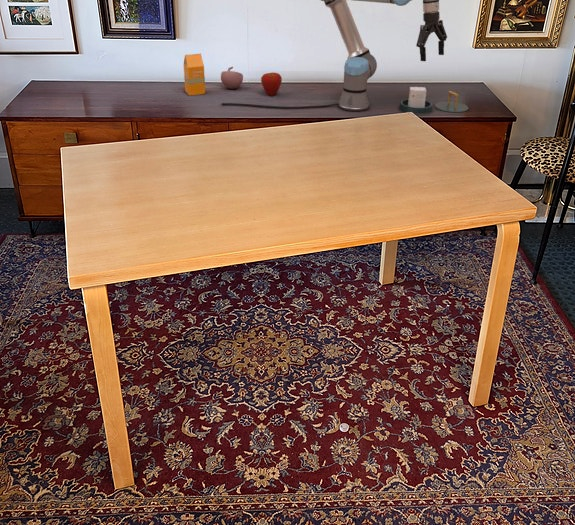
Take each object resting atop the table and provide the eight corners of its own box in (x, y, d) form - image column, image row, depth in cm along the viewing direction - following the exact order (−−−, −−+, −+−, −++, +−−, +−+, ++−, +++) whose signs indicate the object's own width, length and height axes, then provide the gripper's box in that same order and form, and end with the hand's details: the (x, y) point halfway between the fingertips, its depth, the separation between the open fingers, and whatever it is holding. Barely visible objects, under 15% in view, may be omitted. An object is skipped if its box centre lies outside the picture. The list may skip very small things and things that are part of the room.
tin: (410, 115, 312) (411, 109, 310) (394, 106, 324) (394, 100, 322) (437, 112, 317) (438, 106, 315) (420, 103, 329) (421, 97, 328)
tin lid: (446, 115, 313) (449, 98, 309) (428, 105, 326) (430, 89, 322) (474, 111, 319) (477, 95, 315) (455, 102, 332) (457, 86, 328)
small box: (423, 107, 323) (425, 87, 317) (424, 111, 318) (426, 90, 312) (407, 107, 323) (409, 86, 318) (408, 110, 318) (410, 89, 313)
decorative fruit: (244, 85, 351) (244, 64, 345) (241, 92, 341) (240, 70, 335) (223, 84, 352) (222, 63, 346) (219, 91, 342) (218, 69, 336)
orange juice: (205, 93, 337) (203, 55, 327) (189, 95, 334) (187, 56, 324) (200, 89, 343) (198, 51, 333) (185, 91, 340) (182, 53, 330)
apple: (269, 90, 344) (269, 68, 338) (285, 94, 339) (286, 71, 333) (257, 95, 336) (256, 72, 330) (273, 99, 331) (273, 75, 325)
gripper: (420, 16, 290) (421, 64, 300) (454, 7, 303) (454, 52, 313) (407, 16, 296) (409, 63, 306) (441, 7, 309) (442, 51, 318)
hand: (432, 58), depth 309 cm, fingers open, 13 cm apart
